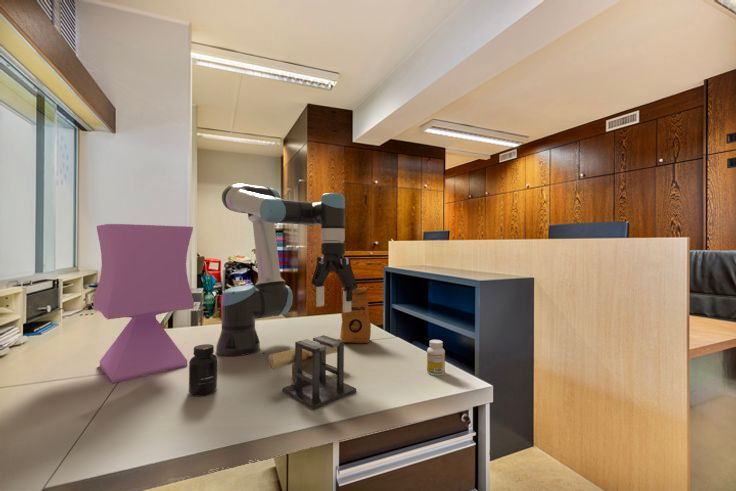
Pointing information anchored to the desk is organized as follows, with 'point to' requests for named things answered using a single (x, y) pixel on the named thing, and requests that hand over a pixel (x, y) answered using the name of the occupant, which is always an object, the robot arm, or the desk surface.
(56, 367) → the desk surface
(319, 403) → the collar stand
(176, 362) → the pink table lamp
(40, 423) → the desk surface
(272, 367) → the air tube
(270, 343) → the desk surface
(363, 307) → the coffee package
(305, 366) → the block
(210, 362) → the supplement bottle
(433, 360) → the supplement bottle
